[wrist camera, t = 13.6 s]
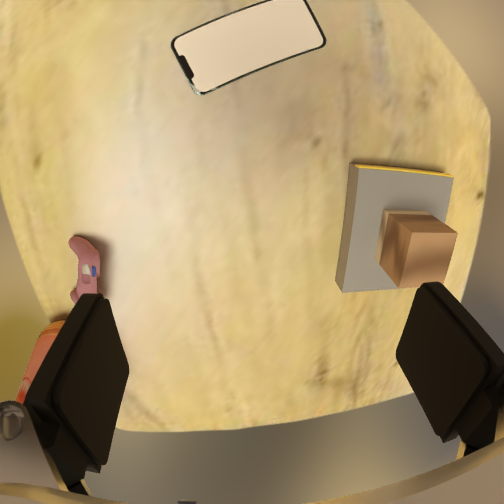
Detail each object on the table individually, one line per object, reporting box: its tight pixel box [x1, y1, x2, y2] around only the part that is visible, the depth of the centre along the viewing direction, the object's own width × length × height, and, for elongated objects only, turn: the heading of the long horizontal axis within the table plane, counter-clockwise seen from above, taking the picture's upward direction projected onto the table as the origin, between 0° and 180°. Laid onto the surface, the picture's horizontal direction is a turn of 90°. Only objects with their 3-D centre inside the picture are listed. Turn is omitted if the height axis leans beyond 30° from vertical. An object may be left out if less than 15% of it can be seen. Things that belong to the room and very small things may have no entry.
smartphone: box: [171, 0, 326, 95], centre depth 28 cm, size 8×1×16 cm
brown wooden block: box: [374, 209, 458, 288], centre depth 33 cm, size 6×6×7 cm
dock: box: [335, 163, 454, 293], centre depth 38 cm, size 16×14×3 cm
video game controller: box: [69, 236, 100, 304], centre depth 37 cm, size 10×5×7 cm, turn 165°
